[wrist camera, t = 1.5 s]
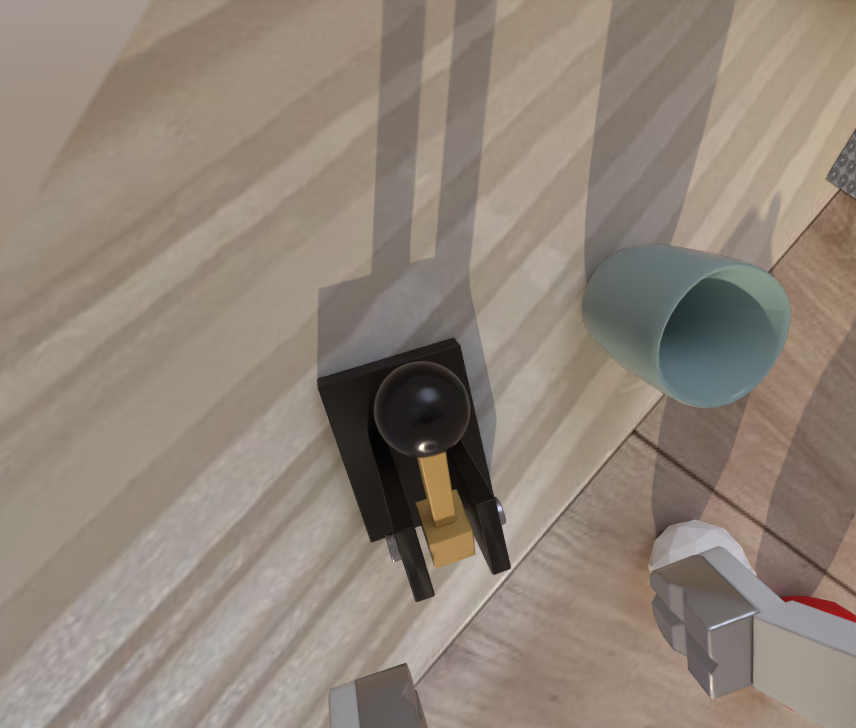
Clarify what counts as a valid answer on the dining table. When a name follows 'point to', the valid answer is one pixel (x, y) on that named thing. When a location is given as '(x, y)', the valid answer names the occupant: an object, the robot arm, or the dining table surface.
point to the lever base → (409, 466)
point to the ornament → (692, 543)
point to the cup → (687, 321)
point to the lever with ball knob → (429, 448)
